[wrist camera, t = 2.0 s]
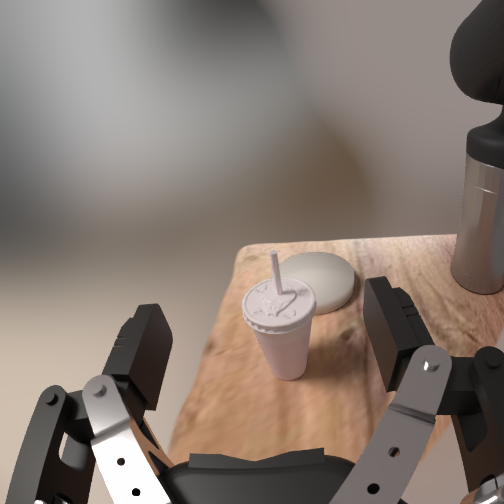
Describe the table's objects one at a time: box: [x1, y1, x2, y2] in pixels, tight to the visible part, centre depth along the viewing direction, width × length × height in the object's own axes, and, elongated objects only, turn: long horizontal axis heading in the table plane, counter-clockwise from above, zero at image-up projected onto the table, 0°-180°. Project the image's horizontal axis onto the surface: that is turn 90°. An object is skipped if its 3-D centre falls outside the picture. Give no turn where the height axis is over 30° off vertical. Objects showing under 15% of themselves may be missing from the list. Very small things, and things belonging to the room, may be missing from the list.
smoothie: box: [242, 250, 317, 380], centre depth 27 cm, size 6×6×14 cm
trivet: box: [272, 252, 354, 315], centre depth 41 cm, size 11×11×2 cm
